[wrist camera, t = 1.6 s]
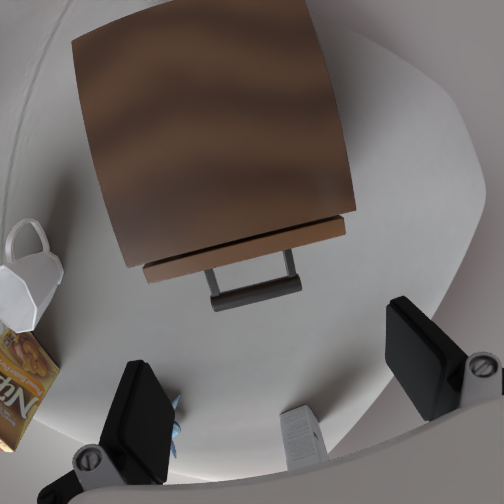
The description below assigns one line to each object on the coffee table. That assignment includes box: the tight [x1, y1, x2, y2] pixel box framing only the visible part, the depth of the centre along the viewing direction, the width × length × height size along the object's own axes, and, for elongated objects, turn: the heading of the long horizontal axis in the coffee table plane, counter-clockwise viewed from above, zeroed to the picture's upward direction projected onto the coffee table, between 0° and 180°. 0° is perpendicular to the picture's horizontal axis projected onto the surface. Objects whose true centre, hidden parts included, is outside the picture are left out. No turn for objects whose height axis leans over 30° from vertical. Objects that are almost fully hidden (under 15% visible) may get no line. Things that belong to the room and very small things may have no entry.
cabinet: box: [71, 0, 356, 268], centre depth 20 cm, size 16×15×10 cm
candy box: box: [0, 327, 60, 452], centre depth 23 cm, size 9×4×15 cm, turn 26°
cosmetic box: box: [279, 405, 329, 471], centre depth 31 cm, size 6×4×12 cm
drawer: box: [143, 215, 346, 312], centre depth 21 cm, size 19×13×8 cm
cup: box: [0, 218, 64, 333], centre depth 23 cm, size 7×10×8 cm
